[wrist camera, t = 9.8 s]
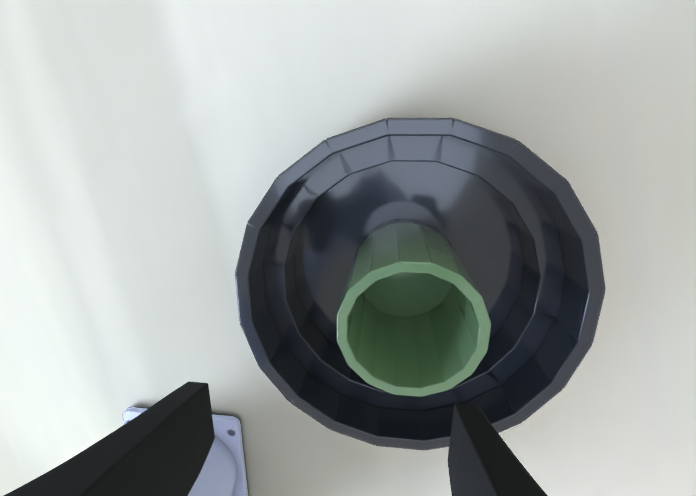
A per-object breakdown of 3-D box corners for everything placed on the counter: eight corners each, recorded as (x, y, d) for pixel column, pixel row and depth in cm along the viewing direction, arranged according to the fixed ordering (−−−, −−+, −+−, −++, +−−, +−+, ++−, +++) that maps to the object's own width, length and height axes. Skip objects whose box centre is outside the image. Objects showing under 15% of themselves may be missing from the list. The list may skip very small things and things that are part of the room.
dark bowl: (527, 395, 20) (564, 464, 16) (277, 376, 22) (250, 434, 18) (578, 122, 16) (648, 117, 12) (260, 123, 17) (219, 118, 13)
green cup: (453, 322, 19) (480, 401, 13) (352, 316, 19) (336, 390, 14) (463, 223, 17) (499, 265, 12) (352, 220, 18) (336, 259, 12)
